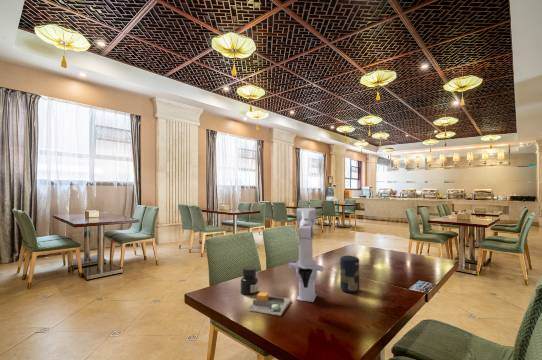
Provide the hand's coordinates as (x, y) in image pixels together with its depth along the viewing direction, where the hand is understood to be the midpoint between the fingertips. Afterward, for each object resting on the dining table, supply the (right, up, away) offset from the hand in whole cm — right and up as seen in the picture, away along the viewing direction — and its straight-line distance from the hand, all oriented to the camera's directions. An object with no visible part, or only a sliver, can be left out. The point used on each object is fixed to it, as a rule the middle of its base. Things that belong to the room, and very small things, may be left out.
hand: (305, 286), depth 113 cm
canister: (+26, -12, +25) cm, 38 cm away
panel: (-15, -11, +6) cm, 19 cm away
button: (-13, -9, -1) cm, 16 cm away
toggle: (-19, -9, +7) cm, 22 cm away
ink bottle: (-26, -12, +22) cm, 36 cm away
